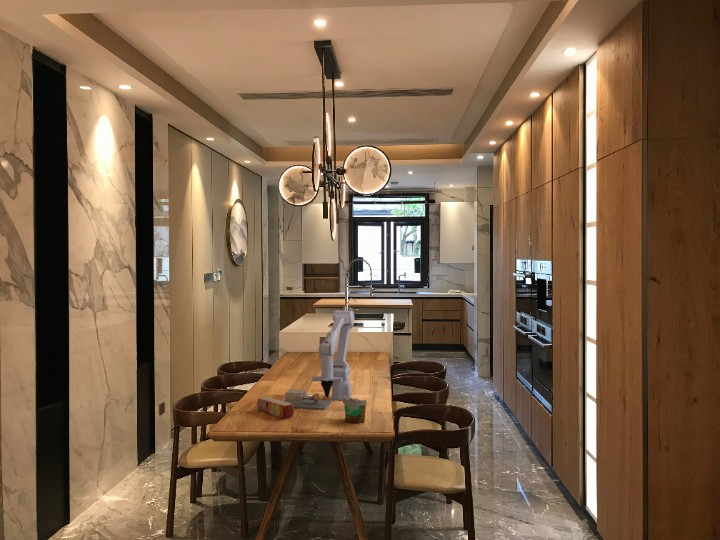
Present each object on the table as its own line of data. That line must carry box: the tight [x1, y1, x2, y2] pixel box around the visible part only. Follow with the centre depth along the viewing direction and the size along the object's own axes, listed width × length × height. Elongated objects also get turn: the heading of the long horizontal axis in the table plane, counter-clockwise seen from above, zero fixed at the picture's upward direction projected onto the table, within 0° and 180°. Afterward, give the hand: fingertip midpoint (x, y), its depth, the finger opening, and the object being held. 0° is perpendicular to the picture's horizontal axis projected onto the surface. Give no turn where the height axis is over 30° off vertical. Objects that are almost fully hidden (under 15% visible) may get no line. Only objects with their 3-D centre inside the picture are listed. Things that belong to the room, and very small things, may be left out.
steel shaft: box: [303, 392, 320, 403], centre depth 266 cm, size 16×4×4 cm, turn 80°
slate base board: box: [283, 399, 333, 411], centre depth 266 cm, size 22×14×1 cm, turn 80°
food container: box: [342, 395, 368, 425], centre depth 239 cm, size 12×6×10 cm, turn 45°
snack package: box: [256, 396, 295, 420], centre depth 251 cm, size 21×7×7 cm, turn 43°
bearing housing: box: [284, 388, 307, 405], centre depth 267 cm, size 8×8×6 cm
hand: (327, 396), depth 264 cm, fingers closed
